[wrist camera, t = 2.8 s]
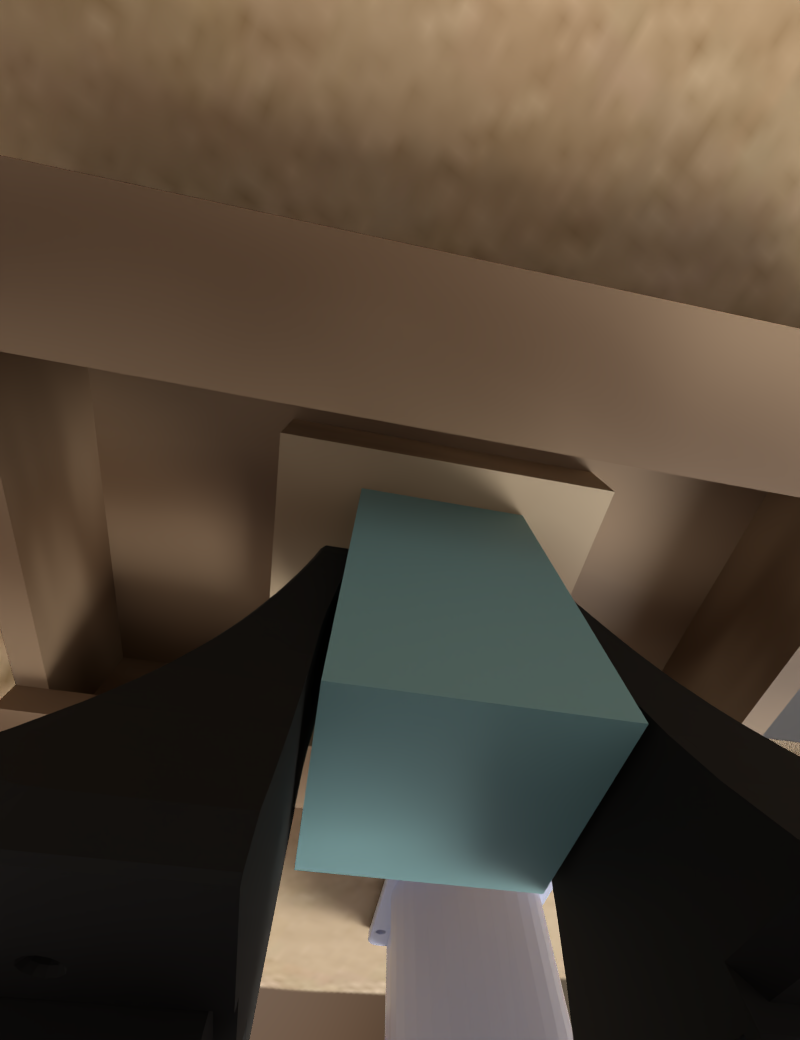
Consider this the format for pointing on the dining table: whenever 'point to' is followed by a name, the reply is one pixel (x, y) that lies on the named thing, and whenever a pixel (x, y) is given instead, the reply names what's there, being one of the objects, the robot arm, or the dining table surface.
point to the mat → (787, 722)
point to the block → (458, 706)
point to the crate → (366, 436)
